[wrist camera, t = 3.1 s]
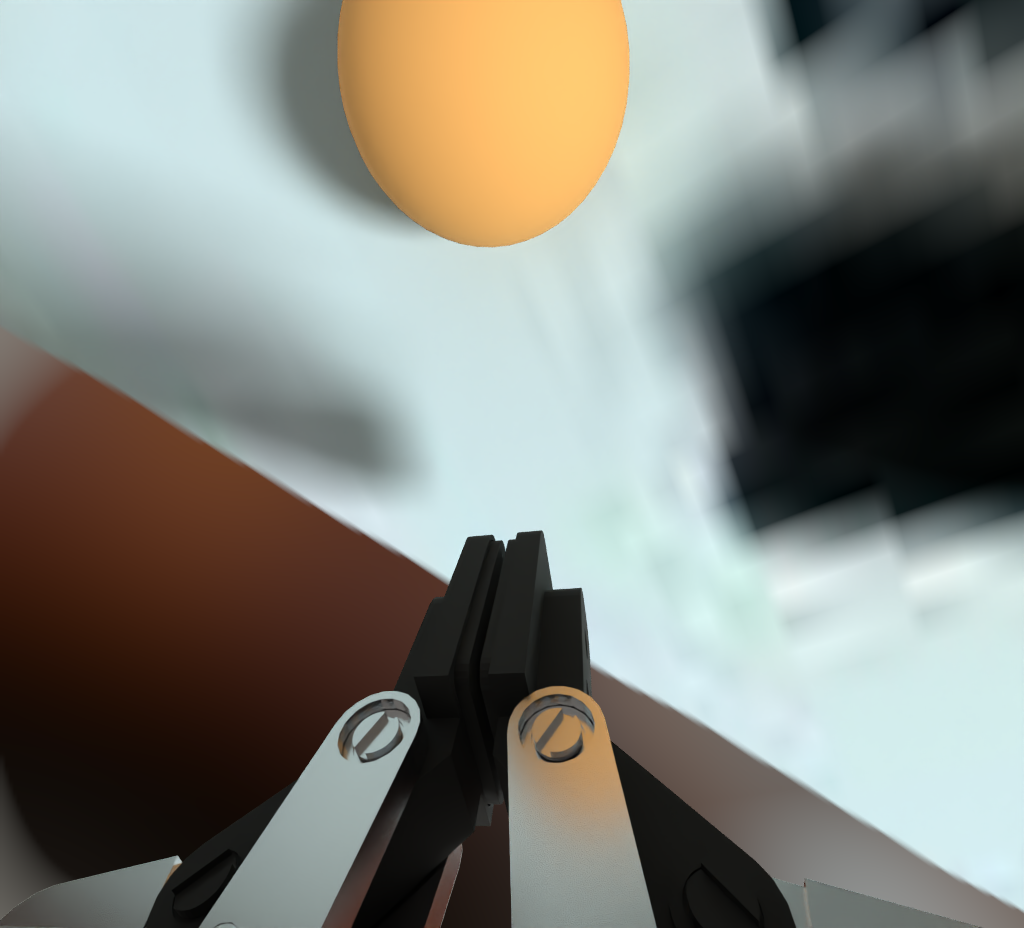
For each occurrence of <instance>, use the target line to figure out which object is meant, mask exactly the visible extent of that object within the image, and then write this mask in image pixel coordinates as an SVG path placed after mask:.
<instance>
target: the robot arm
mask: <svg viewBox="0 0 1024 928" xmlns="http://www.w3.org/2000/svg"><path fill="white" fill-rule="evenodd" d="M503 800H505V804H506V808H507V812H508V816H509V830H510V871H511V912H512V928H982V927H978V926H975V925H971V924H968V923H964V922H960V921H957V920H953V919H949V918H946V917H942V916H939V915H935V914H932V913H928V912H924V911H921V910H917V909H914V908H910V907H906V906H903V905H899V904H896V903H892V902H889V901H885V900H881V899H878V898H874V897H871V896H867V895H863V894H860V893H856V892H853V891H848V890H845V889H842V888H838V887H834V886H831V885H827V884H824V883H820V882H817V881H812V880H809V879H804V887H803V886H799V885H796V884H792V883H789V882H785V881H782V880H778V879H775V878H771V877H770V876H769V875H768V873H767V872H766V871H765V870H764V869H763V868H762V867H761V866H760V865H759V864H758V863H757V862H756V861H755V860H754V859H753V858H751V857H750V856H749V855H748V854H746V853H745V852H744V851H743V850H742V849H740V848H739V847H738V846H737V845H736V844H734V843H733V842H732V841H731V840H730V839H728V838H727V837H726V836H725V835H724V834H722V833H721V832H720V831H719V830H718V829H716V828H715V827H714V826H713V825H711V824H710V823H709V822H708V821H707V820H705V819H704V818H703V817H702V816H701V815H700V814H698V813H697V812H696V811H695V810H694V809H692V808H691V807H690V806H689V805H688V804H686V803H685V802H684V801H683V800H682V799H680V798H679V797H678V796H677V795H676V794H674V793H673V792H672V791H671V790H670V789H668V788H667V787H666V786H665V785H664V784H662V783H661V782H660V781H659V780H658V779H656V778H655V777H654V776H653V775H651V774H650V773H649V772H648V771H647V770H645V769H644V768H643V767H642V766H641V765H639V764H638V763H637V762H636V761H635V760H633V759H632V758H631V757H630V756H629V755H627V754H626V753H625V752H624V751H622V750H621V749H620V748H619V747H618V746H617V745H615V744H614V743H613V742H612V741H611V740H610V738H609V734H608V730H607V726H606V721H605V718H604V716H603V713H602V711H601V709H600V707H599V705H598V704H597V703H596V702H595V701H594V700H593V699H592V694H591V673H590V653H589V640H588V630H587V621H586V613H585V606H584V598H583V592H582V588H573V589H557V590H553V588H552V581H551V575H550V569H549V563H548V557H547V551H546V544H545V539H544V534H543V531H531V532H519V533H517V536H516V539H513V540H509V541H508V544H507V548H506V552H505V547H504V543H503V541H502V540H501V541H495V538H494V536H493V535H484V536H473V537H468V538H467V540H466V542H465V545H464V547H463V550H462V553H461V555H460V558H459V560H458V563H457V565H456V568H455V571H454V573H453V576H452V578H451V581H450V583H449V586H448V589H447V591H446V594H445V596H444V597H436V598H434V599H433V600H432V602H431V603H430V605H429V608H428V610H427V613H426V615H425V617H424V620H423V622H422V624H421V627H420V629H419V632H418V634H417V636H416V639H415V641H414V644H413V646H412V648H411V650H410V653H409V655H408V658H407V660H406V662H405V665H404V667H403V670H402V672H401V674H400V677H399V679H398V681H397V684H396V686H395V688H394V691H387V692H381V693H378V694H374V695H371V696H369V697H367V698H365V699H363V700H361V701H360V702H358V703H356V704H355V705H354V706H352V707H351V708H350V709H349V710H348V711H346V712H345V713H344V715H343V716H342V717H341V718H340V719H339V721H338V722H337V723H336V724H335V726H334V727H333V729H332V730H331V732H330V733H329V735H328V736H327V738H326V739H325V741H324V742H323V744H322V745H321V747H320V748H319V750H318V751H317V753H316V754H315V756H314V757H313V759H312V760H311V761H310V763H309V764H308V766H307V768H306V769H305V770H304V772H303V773H302V775H301V777H300V778H299V779H297V780H296V781H294V782H293V783H292V784H290V785H289V786H287V787H286V788H284V789H283V790H281V791H280V792H279V793H277V794H276V795H274V796H273V797H271V798H270V799H268V800H267V801H265V802H264V803H263V804H261V805H260V806H258V807H257V808H255V809H254V810H253V811H251V812H250V813H248V814H247V815H245V816H244V817H242V818H241V819H239V820H238V821H236V822H235V823H233V824H232V825H231V826H229V827H228V828H226V829H225V830H223V831H222V832H220V833H219V834H218V835H216V836H215V837H213V838H212V839H210V840H209V841H207V842H206V843H205V844H203V845H202V846H201V847H199V848H198V849H197V850H196V851H195V852H193V853H192V854H191V855H190V856H188V857H187V858H186V859H185V860H184V861H183V862H181V860H180V859H179V857H178V856H175V857H171V858H166V859H162V860H158V861H154V862H150V863H146V864H141V865H137V866H133V867H129V868H125V869H121V870H116V871H112V872H108V873H104V874H100V875H96V876H92V877H87V878H84V879H79V880H75V881H71V882H67V883H62V884H59V885H55V886H52V887H50V888H47V889H45V890H42V891H40V892H37V893H35V894H34V895H32V896H31V897H29V898H28V899H26V900H25V901H24V902H22V903H20V904H19V905H17V906H16V907H14V908H13V909H12V910H11V911H10V912H9V913H8V914H6V915H5V916H4V917H3V918H2V919H1V920H0V928H440V926H441V923H442V920H443V917H444V914H445V910H446V907H447V904H448V901H449V898H450V895H451V891H452V888H453V885H454V882H455V879H456V875H457V872H458V869H459V866H460V860H461V855H462V843H463V842H464V841H465V840H466V839H467V838H468V837H469V836H470V835H471V834H472V833H473V832H474V830H475V826H490V825H491V818H492V812H493V805H494V804H502V803H503Z"/></svg>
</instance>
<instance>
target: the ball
mask: <svg viewBox="0 0 1024 928" xmlns="http://www.w3.org/2000/svg"><path fill="white" fill-rule="evenodd" d="M337 60H338V75H339V86H340V92H341V97H342V102H343V107H344V111H345V115H346V118H347V121H348V125H349V128H350V131H351V133H352V136H353V138H354V141H355V143H356V145H357V148H358V150H359V152H360V155H361V157H362V159H363V161H364V162H365V164H366V166H367V168H368V170H369V171H370V173H371V175H372V176H373V178H374V179H375V180H376V182H377V183H378V185H379V186H380V188H381V189H382V190H383V191H384V192H385V194H386V195H387V196H388V197H389V198H390V199H391V200H392V201H393V203H394V204H395V205H396V206H397V207H398V208H399V209H400V210H401V211H402V212H404V213H405V214H406V215H407V216H408V217H409V218H410V219H412V220H413V221H414V222H416V223H417V224H419V225H420V226H422V227H423V228H425V229H426V230H428V231H430V232H432V233H434V234H436V235H439V236H441V237H443V238H445V239H448V240H451V241H454V242H457V243H460V244H465V245H470V246H476V247H499V246H507V245H512V244H516V243H520V242H523V241H526V240H529V239H531V238H534V237H536V236H538V235H541V234H543V233H544V232H546V231H548V230H549V229H551V228H553V227H554V226H556V225H557V224H559V223H560V222H561V221H562V220H564V219H565V218H566V217H567V216H569V215H570V214H571V213H572V212H573V211H574V210H575V209H576V208H577V207H578V206H579V205H580V204H581V203H582V202H583V200H584V199H585V198H586V196H587V195H588V194H589V192H590V191H591V190H592V189H593V187H594V186H595V185H596V183H597V181H598V180H599V178H600V176H601V175H602V173H603V171H604V169H605V168H606V166H607V164H608V162H609V159H610V157H611V155H612V153H613V150H614V148H615V146H616V143H617V139H618V136H619V133H620V130H621V127H622V123H623V118H624V114H625V109H626V104H627V95H628V85H629V43H628V35H627V26H626V21H625V17H624V12H623V8H622V4H621V0H343V2H342V6H341V11H340V18H339V28H338V58H337Z"/></svg>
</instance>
